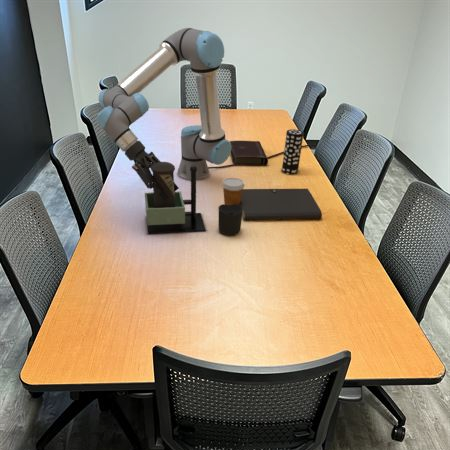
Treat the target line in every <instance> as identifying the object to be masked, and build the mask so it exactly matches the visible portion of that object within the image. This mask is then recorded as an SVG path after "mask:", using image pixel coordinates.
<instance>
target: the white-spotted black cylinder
mask: <svg viewBox="0 0 450 450" xmlns="http://www.w3.org/2000/svg"><path fill="white" fill-rule="evenodd" d="M304 134H305V133H304V131H302V130H300V129H292V128H291V129H288V130H286V132H285V142H284V150H283V152H284V153H283V156H282V166H281V172H282V173H283V174H285V175H291V176H292V175H297V174H298V173H299V167H300V161H301V156H302V155H301V154H302V148H303V147H302V146H303V141H304Z"/></svg>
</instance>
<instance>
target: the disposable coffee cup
mask: <svg viewBox="0 0 450 450" xmlns="http://www.w3.org/2000/svg"><path fill="white" fill-rule="evenodd" d="M221 186H222V190H223V201H224V202H223V204H224V205H232V204H238V205H240V201H241V197H242V192H243V189H245V183H244V181H243V180H242V179H241V178H237V177H228V178H225V179H223V181H222V183H221Z"/></svg>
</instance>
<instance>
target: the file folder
mask: <svg viewBox="0 0 450 450" xmlns="http://www.w3.org/2000/svg"><path fill="white" fill-rule="evenodd" d="M240 206H241V207H242V208H243V212H242V220H243V221H265V220H266V221H267V220H269V221H270V220H271V221H273V220H322V217H323V212H322V210H321V207H320V206H319V204H318V203H317V201H316V199H315V198H314V196H313V194H312V193H311V192H310V190H309V188H243V192H242V197H241V201H240Z"/></svg>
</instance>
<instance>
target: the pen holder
mask: <svg viewBox="0 0 450 450" xmlns="http://www.w3.org/2000/svg"><path fill="white" fill-rule="evenodd" d="M242 212H243V208H242V207H241V206H240V205H238V204H232V205H225V204H224V203H223V204H220V205H218V232H219V233H220V234H221V235H223V236H227V237H234V236H237V235H238V234H240V233H241V228H242V220H243V216H242Z"/></svg>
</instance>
